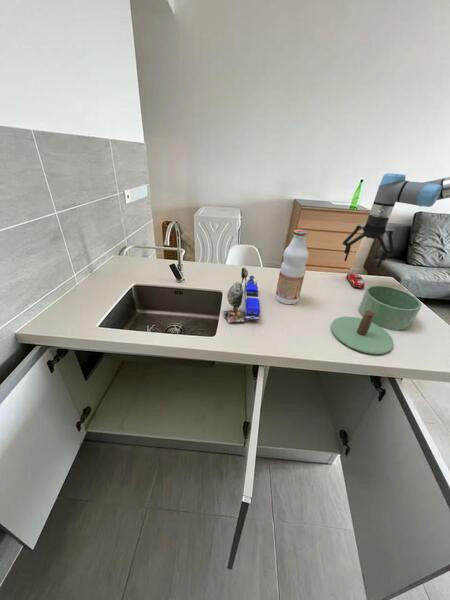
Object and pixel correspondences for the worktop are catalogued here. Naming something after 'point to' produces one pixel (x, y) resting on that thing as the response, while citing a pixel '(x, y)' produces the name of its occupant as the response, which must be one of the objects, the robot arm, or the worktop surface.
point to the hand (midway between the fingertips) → (361, 263)
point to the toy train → (251, 300)
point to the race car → (355, 280)
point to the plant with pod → (236, 300)
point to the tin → (390, 307)
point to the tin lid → (362, 334)
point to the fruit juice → (293, 269)
